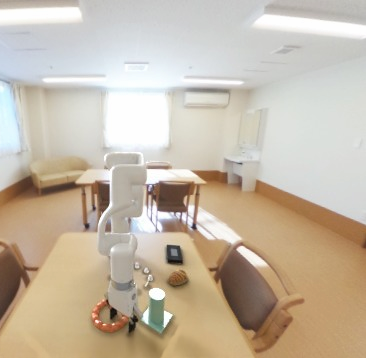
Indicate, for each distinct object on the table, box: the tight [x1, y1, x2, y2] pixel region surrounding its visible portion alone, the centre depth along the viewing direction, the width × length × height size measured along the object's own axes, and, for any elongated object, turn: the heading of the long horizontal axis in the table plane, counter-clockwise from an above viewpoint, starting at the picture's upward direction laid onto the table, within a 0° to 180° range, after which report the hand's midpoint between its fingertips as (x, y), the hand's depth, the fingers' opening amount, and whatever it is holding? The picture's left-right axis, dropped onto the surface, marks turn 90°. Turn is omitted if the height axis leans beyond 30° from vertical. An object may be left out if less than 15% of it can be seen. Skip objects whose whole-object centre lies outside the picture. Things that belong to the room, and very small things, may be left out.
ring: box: [90, 298, 129, 333], centre depth 77 cm, size 14×14×2 cm
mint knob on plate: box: [140, 287, 173, 334], centre depth 75 cm, size 9×9×11 cm
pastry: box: [168, 268, 189, 287], centre depth 95 cm, size 9×7×4 cm
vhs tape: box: [166, 244, 184, 265], centre depth 115 cm, size 8×14×2 cm, turn 172°
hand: (122, 322), depth 74 cm, fingers open, 7 cm apart
